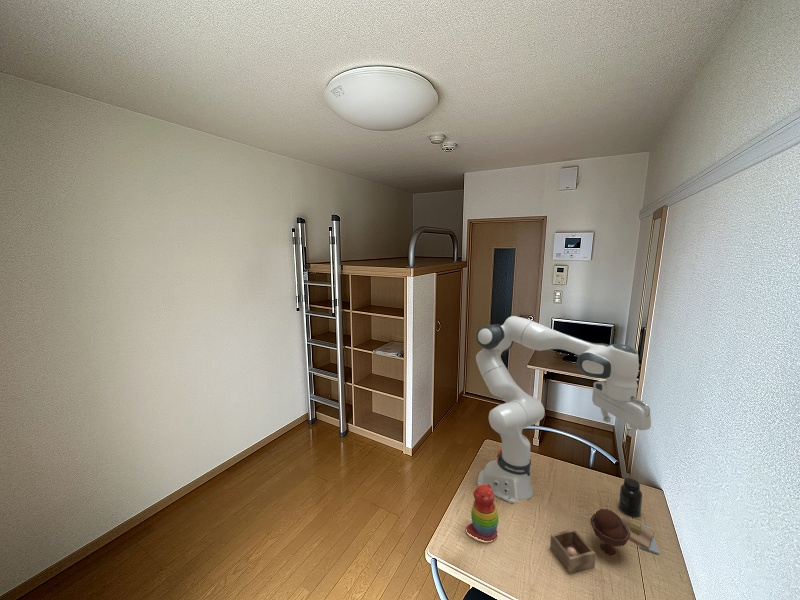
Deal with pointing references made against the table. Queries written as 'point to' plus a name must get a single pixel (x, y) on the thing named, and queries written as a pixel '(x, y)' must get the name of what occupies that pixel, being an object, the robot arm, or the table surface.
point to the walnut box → (574, 540)
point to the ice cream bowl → (609, 530)
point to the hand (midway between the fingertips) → (617, 428)
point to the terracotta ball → (571, 551)
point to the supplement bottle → (630, 497)
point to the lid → (638, 532)
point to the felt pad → (653, 545)
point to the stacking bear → (483, 514)
